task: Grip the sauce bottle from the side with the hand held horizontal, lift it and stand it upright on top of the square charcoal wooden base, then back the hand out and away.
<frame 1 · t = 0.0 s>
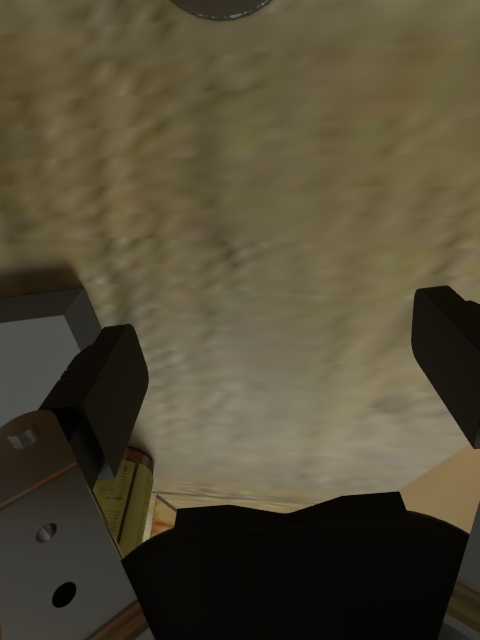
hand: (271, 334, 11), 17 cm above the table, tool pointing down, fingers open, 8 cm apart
pizza slice: (209, 546, 52), on the table
sauce bottle: (129, 462, 42), on the table
charcoal base: (37, 367, 34), on the table
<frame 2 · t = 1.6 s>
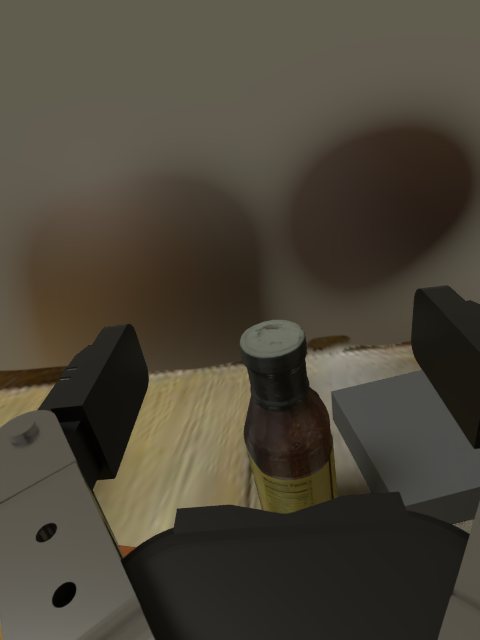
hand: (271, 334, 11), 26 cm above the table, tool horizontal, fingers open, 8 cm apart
sauce bottle: (301, 527, 34), on the table
charcoal base: (428, 451, 38), on the table
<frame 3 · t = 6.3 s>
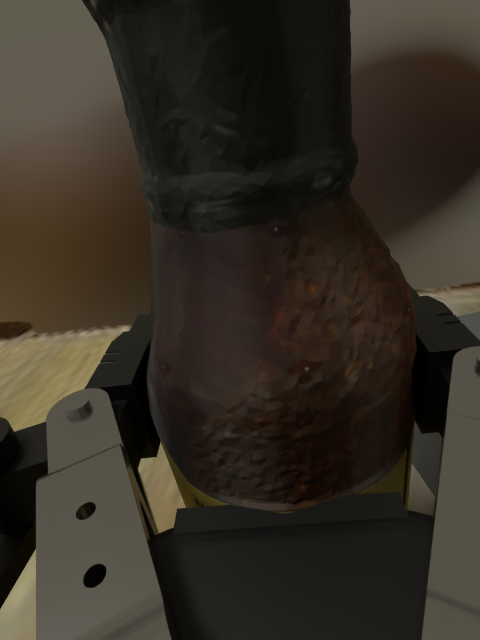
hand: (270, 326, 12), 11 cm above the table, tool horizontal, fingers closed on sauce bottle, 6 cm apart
sauce bottle: (307, 608, 15), on the table, touching gripper
when the fingers open (16 cm above the table, at t = 10.2 s): sauce bottle drops 1 cm, resting on charcoal base.
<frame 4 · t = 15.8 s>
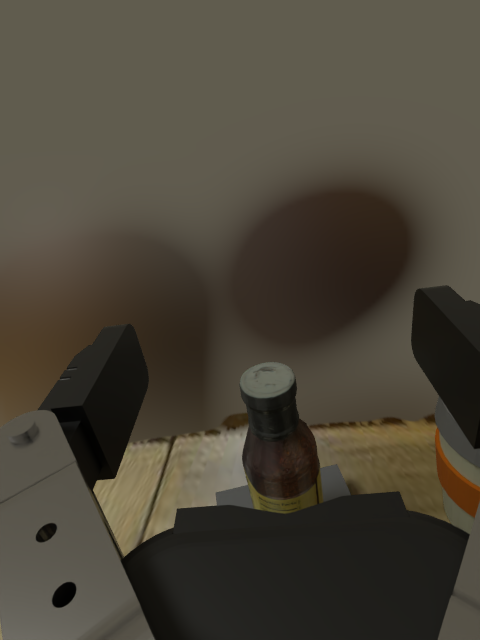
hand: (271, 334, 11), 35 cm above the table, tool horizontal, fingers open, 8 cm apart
sauce bottle: (293, 540, 38), point 4 cm above the table, touching charcoal base
charcoal base: (297, 561, 40), on the table
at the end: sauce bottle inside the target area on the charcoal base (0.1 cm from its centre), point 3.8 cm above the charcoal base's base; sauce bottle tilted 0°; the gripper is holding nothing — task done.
